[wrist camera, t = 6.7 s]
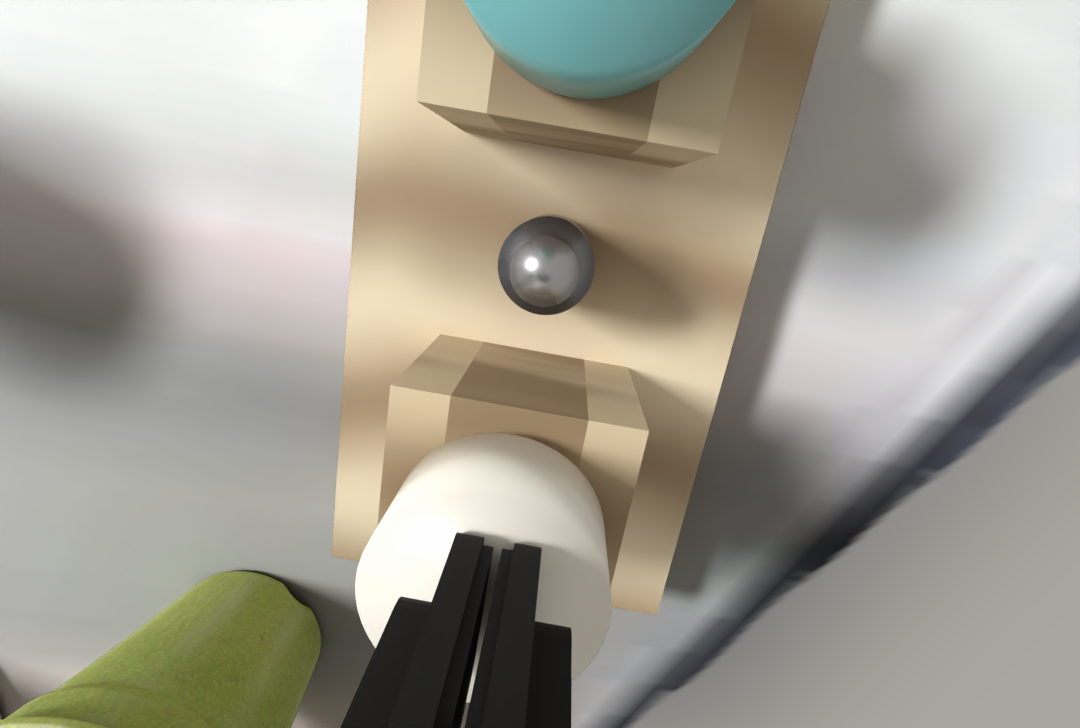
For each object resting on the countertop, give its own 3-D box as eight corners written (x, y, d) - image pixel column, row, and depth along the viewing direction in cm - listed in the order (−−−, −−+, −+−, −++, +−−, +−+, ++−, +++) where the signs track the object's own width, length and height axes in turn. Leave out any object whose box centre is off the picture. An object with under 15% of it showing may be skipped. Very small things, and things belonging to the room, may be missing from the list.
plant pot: (165, 703, 25) (-35, 951, 17) (128, 525, 23) (-131, 715, 14) (365, 720, 25) (261, 981, 17) (352, 540, 22) (220, 744, 14)
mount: (649, 578, 22) (683, 746, 15) (352, 525, 22) (255, 669, 15) (847, -158, 15) (1075, -453, 8) (411, -232, 15) (278, -587, 8)
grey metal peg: (582, 301, 17) (584, 331, 13) (505, 287, 17) (485, 313, 13) (597, 222, 16) (605, 228, 12) (517, 207, 16) (500, 210, 12)
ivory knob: (579, 521, 19) (584, 723, 11) (434, 494, 19) (347, 681, 11) (609, 382, 17) (637, 515, 10) (451, 355, 17) (364, 466, 10)
